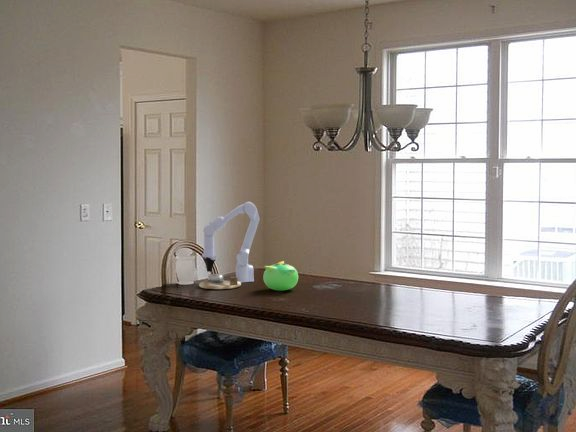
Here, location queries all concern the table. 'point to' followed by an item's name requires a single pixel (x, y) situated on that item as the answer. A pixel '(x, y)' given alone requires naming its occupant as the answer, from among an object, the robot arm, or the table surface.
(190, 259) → the jar
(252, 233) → the robot arm
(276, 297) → the table surface
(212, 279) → the cover
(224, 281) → the disc
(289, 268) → the green tomato
